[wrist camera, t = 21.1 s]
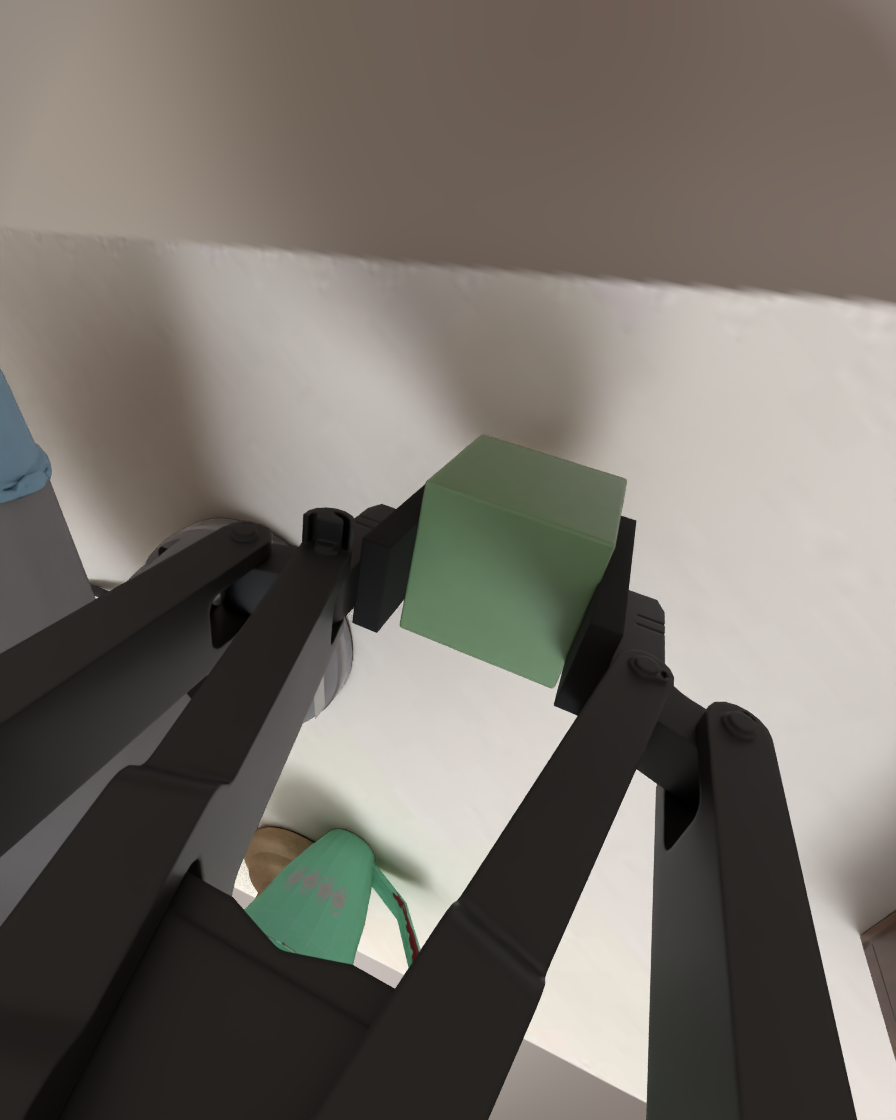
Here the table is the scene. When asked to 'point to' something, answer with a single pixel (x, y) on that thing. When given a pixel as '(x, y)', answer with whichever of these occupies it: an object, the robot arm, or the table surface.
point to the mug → (328, 900)
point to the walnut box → (883, 969)
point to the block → (511, 555)
